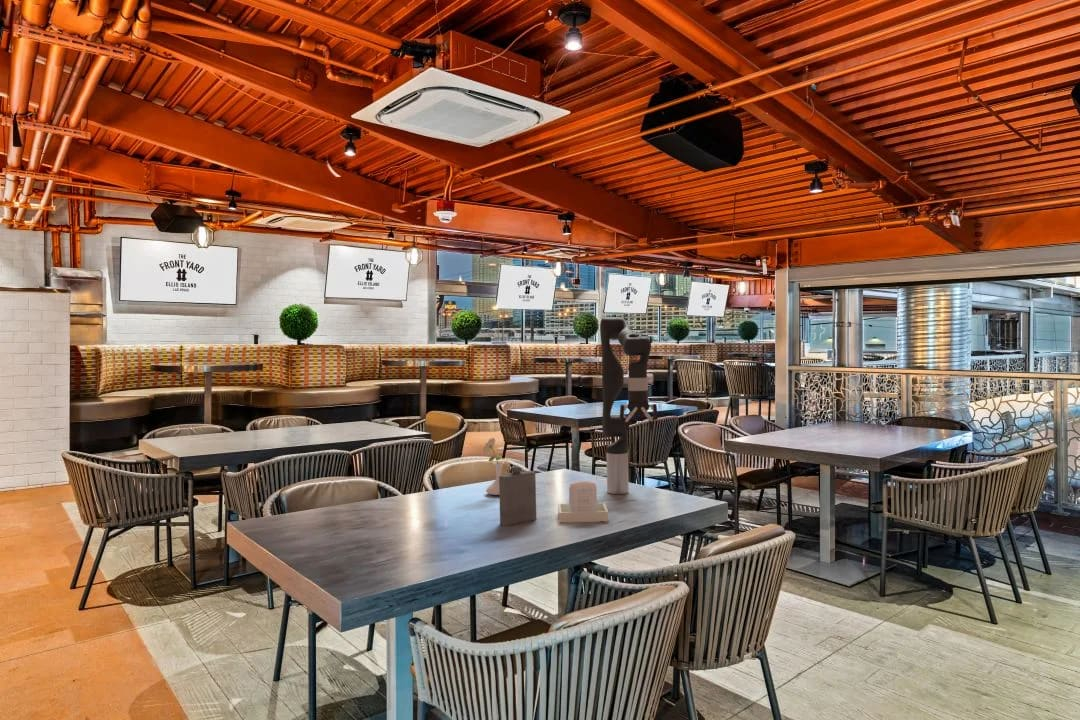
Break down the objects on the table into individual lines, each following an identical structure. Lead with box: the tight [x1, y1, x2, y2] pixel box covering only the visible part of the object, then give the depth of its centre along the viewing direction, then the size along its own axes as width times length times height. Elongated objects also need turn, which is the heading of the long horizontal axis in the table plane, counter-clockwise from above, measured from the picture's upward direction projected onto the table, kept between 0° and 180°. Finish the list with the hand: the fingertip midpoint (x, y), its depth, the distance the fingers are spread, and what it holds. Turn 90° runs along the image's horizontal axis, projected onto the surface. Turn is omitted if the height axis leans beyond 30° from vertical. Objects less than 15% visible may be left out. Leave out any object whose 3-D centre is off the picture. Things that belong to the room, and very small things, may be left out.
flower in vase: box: [482, 437, 505, 496], centre depth 283 cm, size 13×11×25 cm
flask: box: [498, 465, 537, 527], centre depth 239 cm, size 15×6×20 cm, turn 126°
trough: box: [557, 502, 609, 523], centre depth 243 cm, size 14×18×4 cm
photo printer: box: [568, 480, 598, 512], centre depth 243 cm, size 10×4×12 cm, turn 94°
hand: (638, 431), depth 252 cm, fingers open, 8 cm apart
